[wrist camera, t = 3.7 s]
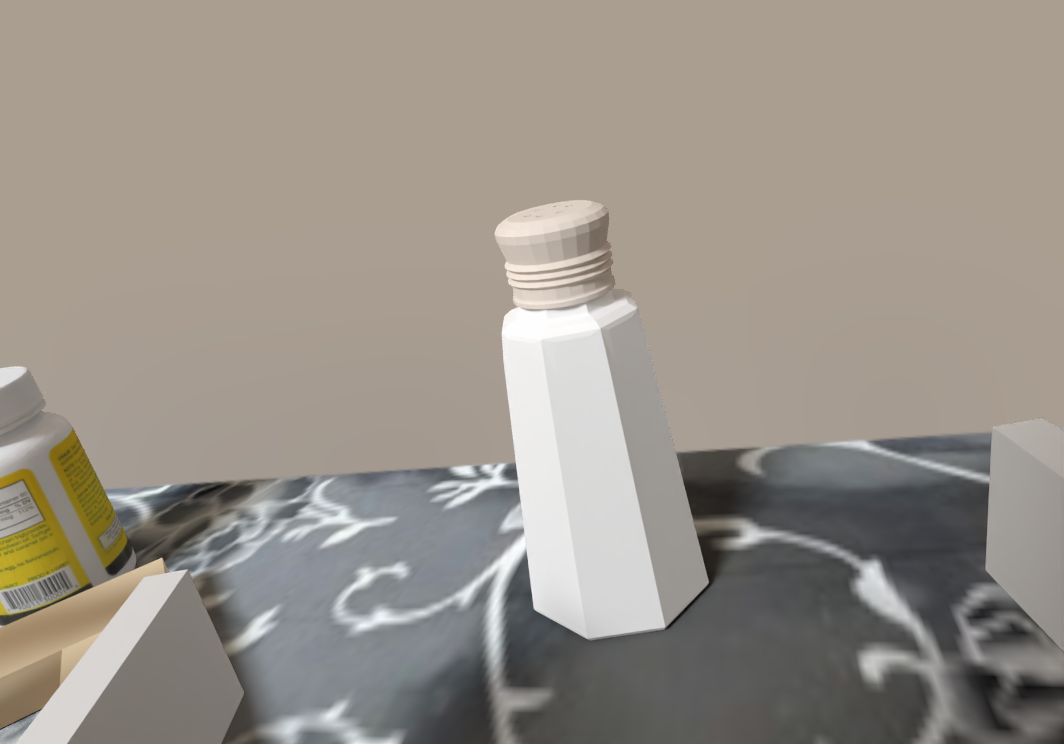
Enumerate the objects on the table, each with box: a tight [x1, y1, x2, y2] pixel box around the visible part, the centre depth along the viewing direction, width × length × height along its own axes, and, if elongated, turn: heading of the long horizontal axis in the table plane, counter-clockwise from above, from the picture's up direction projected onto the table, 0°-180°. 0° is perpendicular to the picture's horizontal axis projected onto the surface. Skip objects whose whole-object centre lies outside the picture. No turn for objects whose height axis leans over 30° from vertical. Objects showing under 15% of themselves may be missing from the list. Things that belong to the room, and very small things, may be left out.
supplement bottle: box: [0, 366, 136, 628], centre depth 25 cm, size 5×5×8 cm
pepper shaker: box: [495, 200, 709, 641], centre depth 19 cm, size 5×5×11 cm
